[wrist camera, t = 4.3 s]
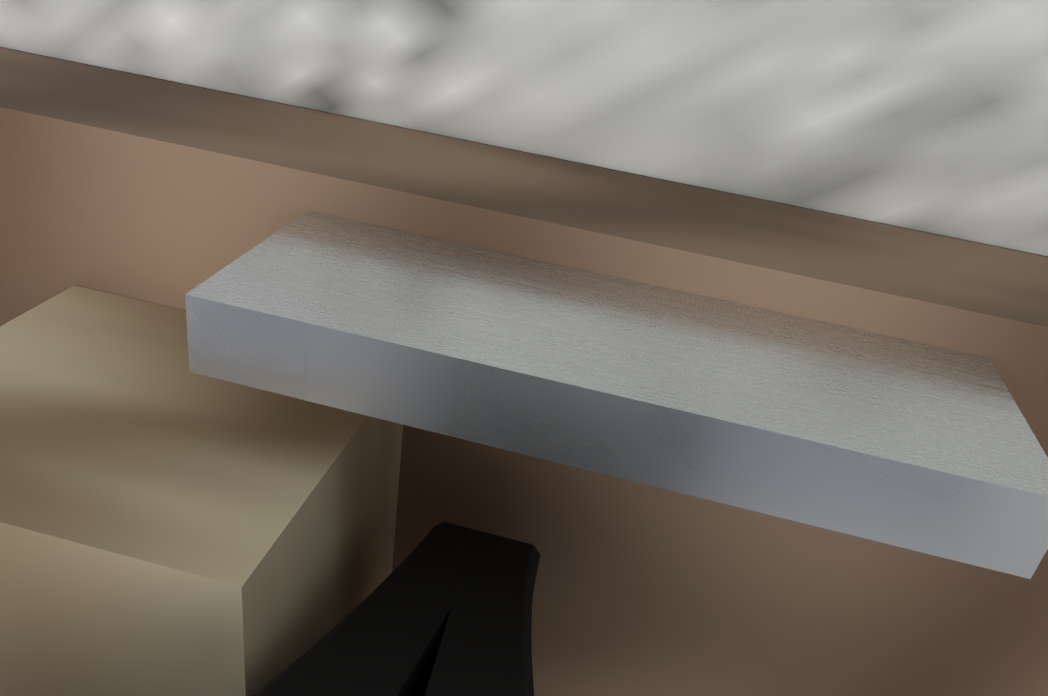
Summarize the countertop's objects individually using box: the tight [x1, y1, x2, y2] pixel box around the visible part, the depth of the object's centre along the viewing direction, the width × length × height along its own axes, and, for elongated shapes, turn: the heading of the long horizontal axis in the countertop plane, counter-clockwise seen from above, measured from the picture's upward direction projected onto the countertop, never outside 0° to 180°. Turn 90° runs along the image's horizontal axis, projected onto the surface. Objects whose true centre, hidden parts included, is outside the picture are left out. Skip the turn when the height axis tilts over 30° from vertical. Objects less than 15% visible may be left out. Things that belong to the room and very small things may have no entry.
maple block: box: [0, 285, 403, 696], centre depth 10 cm, size 4×4×4 cm
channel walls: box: [185, 210, 1048, 579], centre depth 10 cm, size 8×8×2 cm
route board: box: [0, 47, 1048, 696], centre depth 13 cm, size 25×9×2 cm, turn 81°
